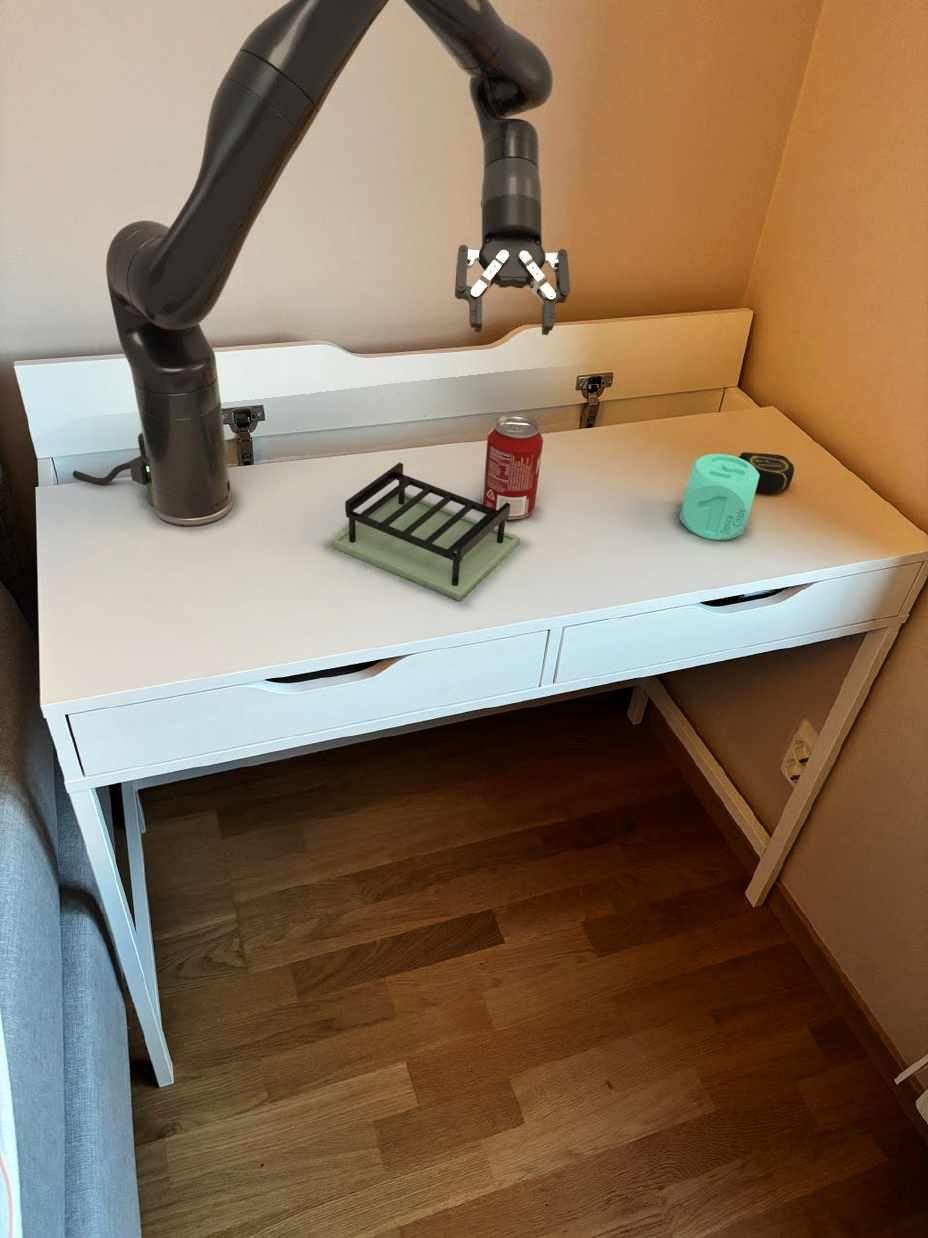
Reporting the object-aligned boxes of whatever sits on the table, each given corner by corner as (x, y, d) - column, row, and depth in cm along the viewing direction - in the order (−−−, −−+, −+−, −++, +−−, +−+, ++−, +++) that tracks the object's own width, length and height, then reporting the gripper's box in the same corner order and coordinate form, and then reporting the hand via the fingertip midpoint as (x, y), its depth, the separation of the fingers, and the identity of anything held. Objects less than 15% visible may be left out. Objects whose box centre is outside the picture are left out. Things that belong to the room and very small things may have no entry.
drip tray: (331, 547, 112) (331, 540, 111) (397, 496, 122) (397, 489, 121) (459, 602, 105) (460, 595, 105) (519, 544, 115) (520, 537, 114)
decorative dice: (675, 531, 119) (689, 476, 114) (686, 500, 125) (699, 447, 120) (738, 547, 117) (755, 492, 112) (746, 515, 123) (763, 461, 118)
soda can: (529, 527, 118) (540, 442, 110) (476, 518, 119) (484, 433, 111) (537, 499, 123) (548, 416, 115) (486, 491, 124) (494, 408, 116)
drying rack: (345, 540, 112) (344, 501, 109) (398, 499, 120) (399, 462, 116) (458, 588, 106) (461, 548, 103) (506, 542, 114) (510, 503, 111)
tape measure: (782, 474, 132) (789, 451, 130) (792, 500, 127) (800, 476, 125) (733, 470, 132) (740, 446, 130) (742, 496, 127) (749, 472, 125)
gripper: (457, 188, 115) (458, 317, 113) (573, 193, 116) (575, 321, 114) (452, 220, 122) (453, 341, 120) (561, 224, 123) (563, 344, 122)
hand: (512, 331), depth 117 cm, fingers open, 8 cm apart
